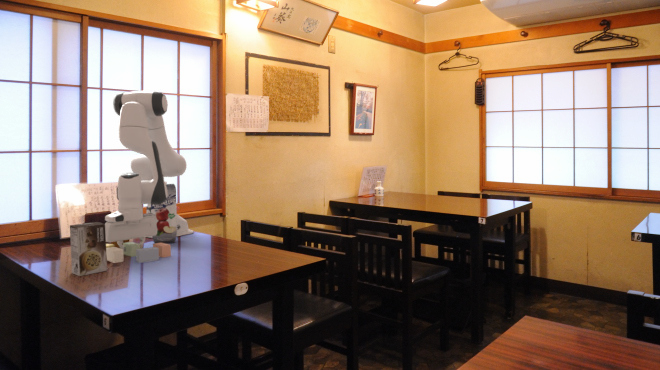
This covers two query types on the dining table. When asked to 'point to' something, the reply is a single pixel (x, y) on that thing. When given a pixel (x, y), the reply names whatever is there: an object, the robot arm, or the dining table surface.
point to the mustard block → (109, 245)
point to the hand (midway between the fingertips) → (131, 250)
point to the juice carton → (166, 217)
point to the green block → (131, 248)
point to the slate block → (147, 254)
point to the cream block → (114, 254)
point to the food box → (88, 248)
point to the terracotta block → (163, 249)
